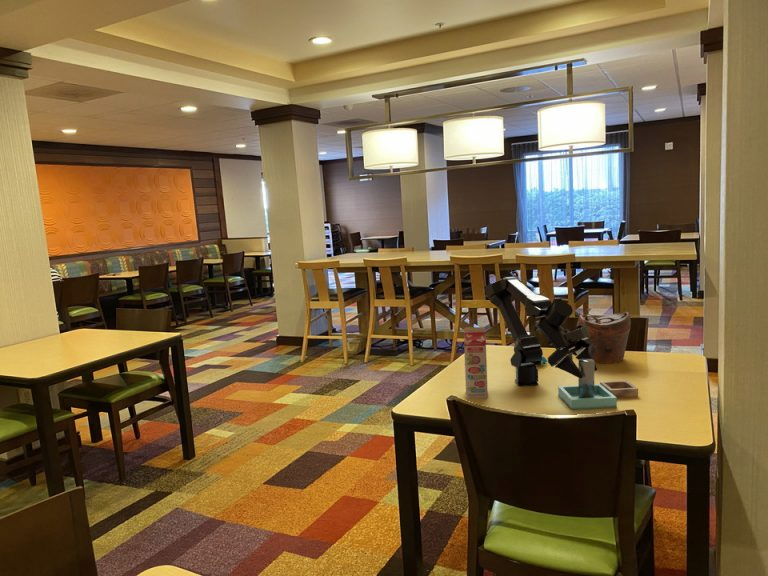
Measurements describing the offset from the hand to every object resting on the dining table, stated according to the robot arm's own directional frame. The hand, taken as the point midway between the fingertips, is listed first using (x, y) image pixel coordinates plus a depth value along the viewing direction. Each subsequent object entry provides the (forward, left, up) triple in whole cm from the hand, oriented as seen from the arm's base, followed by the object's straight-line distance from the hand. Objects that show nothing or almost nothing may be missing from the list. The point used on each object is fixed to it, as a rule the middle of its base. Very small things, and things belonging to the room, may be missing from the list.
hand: (589, 373), depth 175 cm
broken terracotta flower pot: (+21, +46, -9) cm, 51 cm away
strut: (-1, +1, -8) cm, 8 cm away
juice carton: (-32, +13, -9) cm, 35 cm away
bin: (-1, +1, -9) cm, 9 cm away
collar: (+11, +7, -9) cm, 16 cm away
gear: (-5, +46, -9) cm, 47 cm away
